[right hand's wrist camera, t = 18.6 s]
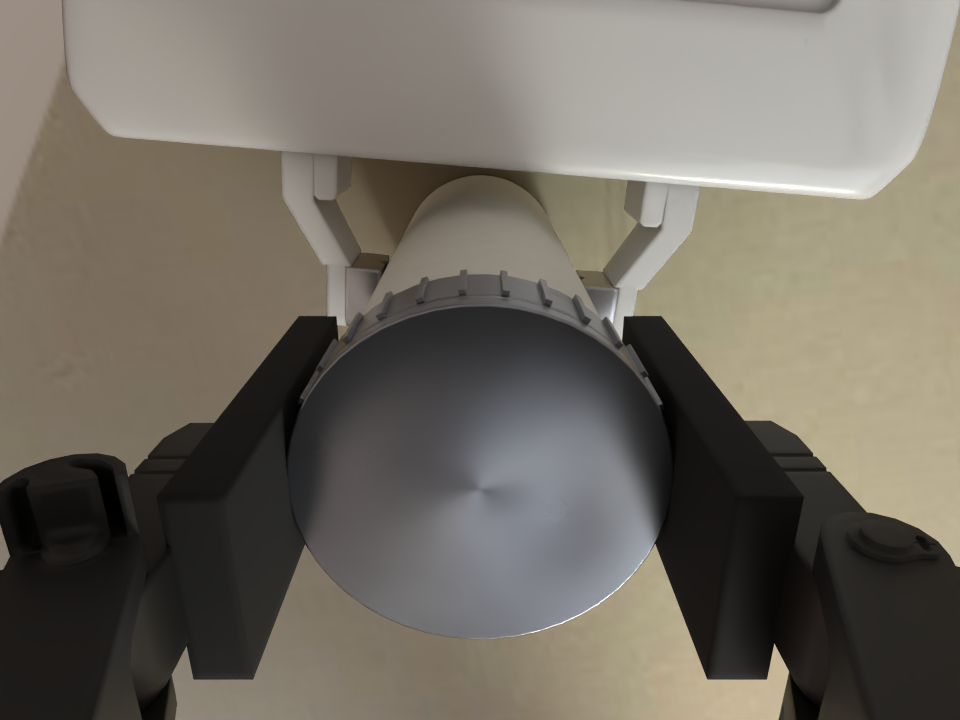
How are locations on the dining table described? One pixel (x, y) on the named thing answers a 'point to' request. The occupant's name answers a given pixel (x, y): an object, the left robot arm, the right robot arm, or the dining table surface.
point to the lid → (480, 458)
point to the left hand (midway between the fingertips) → (479, 330)
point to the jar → (480, 239)
